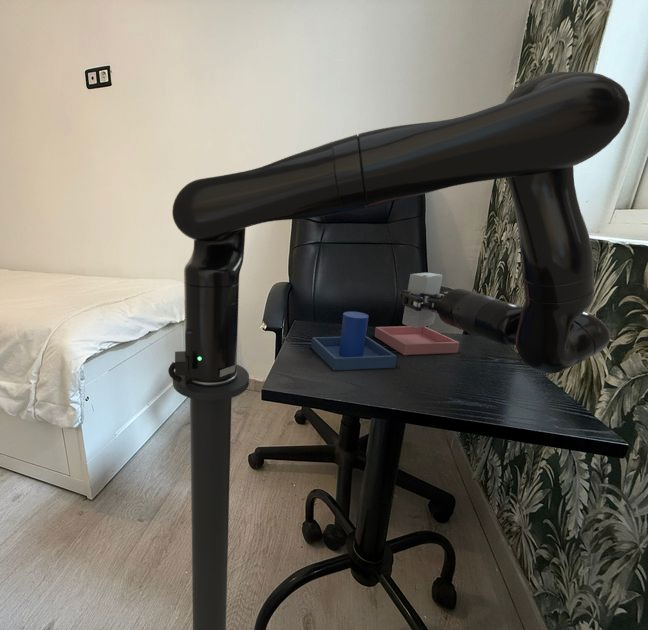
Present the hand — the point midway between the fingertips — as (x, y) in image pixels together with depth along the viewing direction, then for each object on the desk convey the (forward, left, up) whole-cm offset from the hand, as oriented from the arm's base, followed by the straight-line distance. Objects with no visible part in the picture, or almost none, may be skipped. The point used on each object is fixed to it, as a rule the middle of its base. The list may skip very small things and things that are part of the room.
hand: (416, 294), depth 84 cm
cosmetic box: (0, -2, -7) cm, 8 cm away
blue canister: (-19, -8, -11) cm, 24 cm away
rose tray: (0, -2, -12) cm, 12 cm away
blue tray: (-19, -8, -12) cm, 24 cm away
